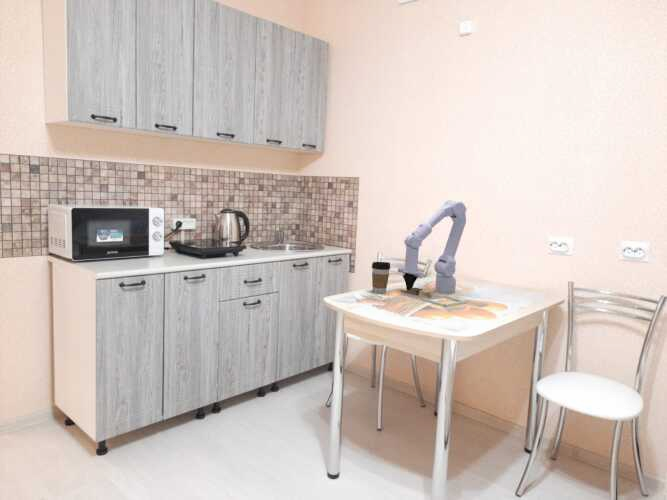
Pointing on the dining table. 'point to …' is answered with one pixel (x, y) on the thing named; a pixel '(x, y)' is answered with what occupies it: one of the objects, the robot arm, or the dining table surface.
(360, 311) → the dining table surface
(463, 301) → the tray
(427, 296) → the oak tile
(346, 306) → the dining table surface
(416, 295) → the slate board
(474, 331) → the dining table surface
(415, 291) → the walnut tile
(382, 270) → the coffee cup
